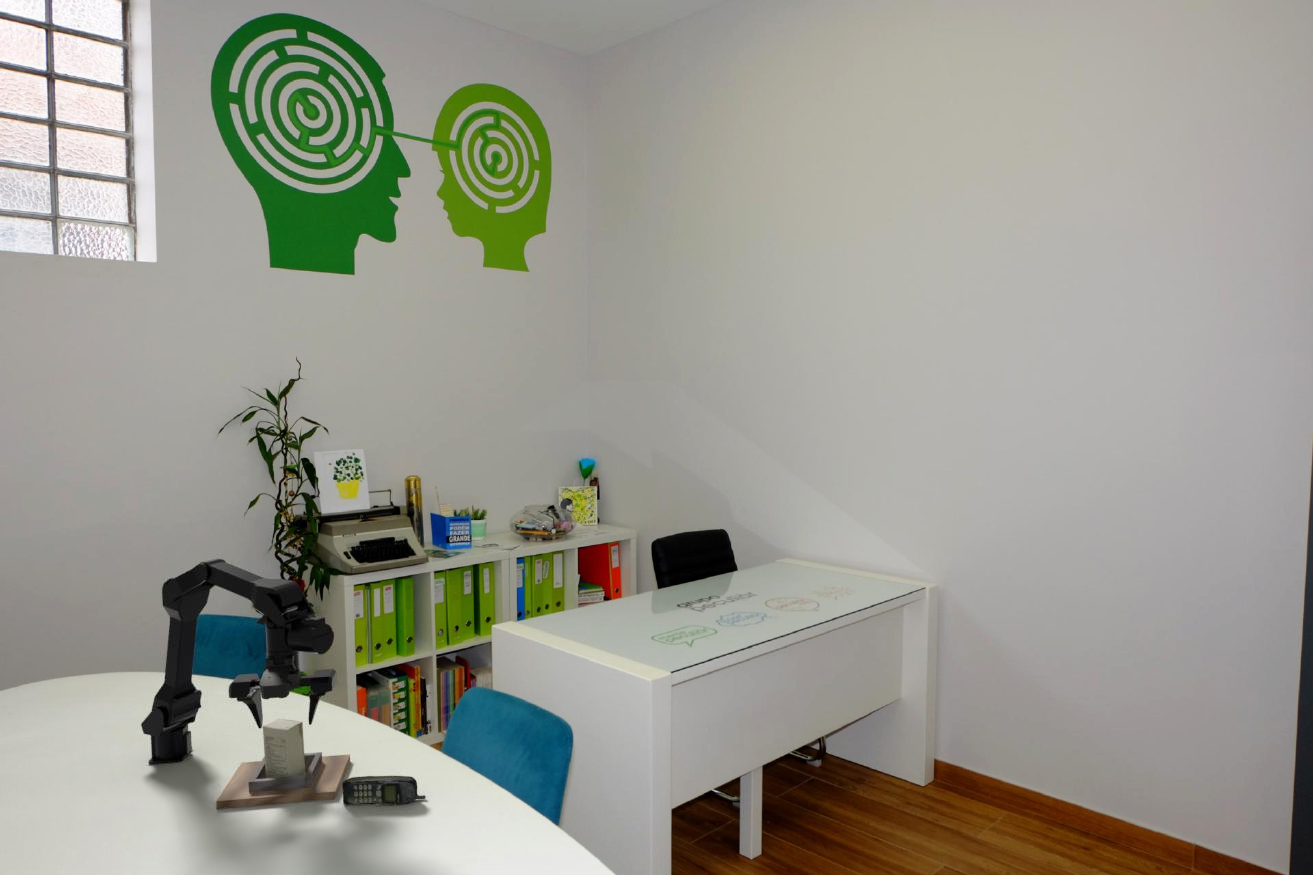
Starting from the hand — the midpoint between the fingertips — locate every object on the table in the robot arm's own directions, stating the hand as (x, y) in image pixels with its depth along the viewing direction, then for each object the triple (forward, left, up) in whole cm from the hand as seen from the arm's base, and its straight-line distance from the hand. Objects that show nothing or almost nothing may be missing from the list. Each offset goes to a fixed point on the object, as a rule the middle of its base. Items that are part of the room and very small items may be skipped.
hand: (285, 725), depth 168 cm
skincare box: (0, 0, -12) cm, 12 cm away
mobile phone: (+20, -11, -12) cm, 25 cm away
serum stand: (0, 0, -12) cm, 12 cm away
